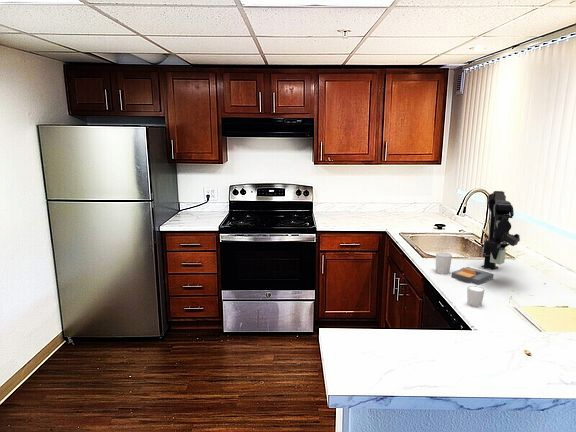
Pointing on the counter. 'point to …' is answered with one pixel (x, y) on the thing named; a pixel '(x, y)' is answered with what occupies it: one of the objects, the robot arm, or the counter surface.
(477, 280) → the socket
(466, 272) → the shutter
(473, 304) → the shot glass
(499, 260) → the plug
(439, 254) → the white cup
